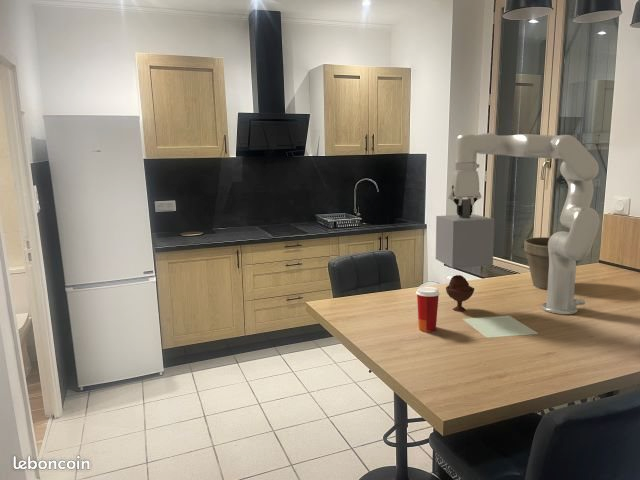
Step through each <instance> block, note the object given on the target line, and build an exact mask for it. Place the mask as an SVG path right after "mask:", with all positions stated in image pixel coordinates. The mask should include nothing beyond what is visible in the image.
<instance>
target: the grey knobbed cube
mask: <svg viewBox="0 0 640 480" xmlns="http://www.w3.org/2000/svg"><path fill="white" fill-rule="evenodd" d="M462 206H463V215H462V216H459V215H457V214H456V215H455V214H451V215H448V214H447V215H436V217H435V219H436V221H435V223H436V224H435V228H436V229H435V260H437V261H438V262H440V263H442V264H444V265H446V266H448V267H450V268H452V269H456V268H473V267H474V268H475V267H488V266H489V267H490V266H493V264H494V245H495V244H494V242H495V241H494V239H495V218H492V217H487V216H482V215H479V214H473V213H472V215H471V216H470V200H469V199H468V198H462Z"/></svg>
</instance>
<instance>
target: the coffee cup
mask: <svg viewBox="0 0 640 480" xmlns="http://www.w3.org/2000/svg"><path fill="white" fill-rule="evenodd" d="M415 294H416V298H417V301H416V302H417V303H416V304H417V316H418V317H417V318H418V321H417V322H418V330H419V331H421V332H423V333H432V332H435V331H436V329H437V322H438V321H437V318H438V307H439V296H440V294H441V293H440V292H439V289H438V288H437V287H434V286H433V287H432V286H422V287H421V286H420V287H418V288H417V289H416V292H415Z"/></svg>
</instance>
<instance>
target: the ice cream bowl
mask: <svg viewBox="0 0 640 480" xmlns="http://www.w3.org/2000/svg"><path fill="white" fill-rule="evenodd" d="M445 292H446V294H447V295H448V296H449V297H450V298H451V299H453V300H454V301H456V303H457V306H455V307H453V308H452V310H453V311H455V312H459V313H462V312H463V313H464V312H466V311H467V309H466V308H465V307H464V306H463V302H465V301H468V300H469V299H470V298H471V297H472V296H473V294H474V293H475V288H474V287H473V286H471V285H470V283H469V281H468V280H467V279H466V278H465V277H464V276H463V275H460V274H456V275H453V276H452V277H451V278H450V281H449V283H448V285H447V286H446V287H445Z"/></svg>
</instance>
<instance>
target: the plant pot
mask: <svg viewBox="0 0 640 480" xmlns="http://www.w3.org/2000/svg"><path fill="white" fill-rule="evenodd" d="M549 239H550V237H548V236H547V237H539V236H538V237H530V238H525V239H524V242H523V245H524V246H523V248H524V249H523V250H524V252H526V253H525V254H526V259H527V263H528V268H529V272H530V278H531V282H532V285H533V286H534V287H535V288H538V289H541V290H546V291H547V289H548V273H549V252H548V241H549ZM578 262H579V261H576V266H577V265H578Z"/></svg>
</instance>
